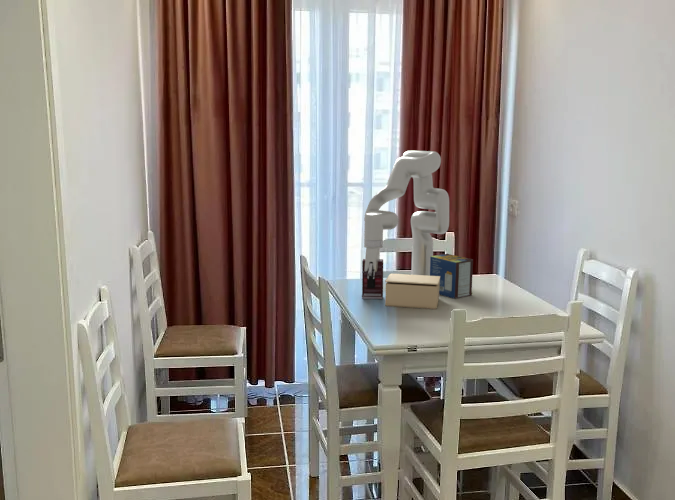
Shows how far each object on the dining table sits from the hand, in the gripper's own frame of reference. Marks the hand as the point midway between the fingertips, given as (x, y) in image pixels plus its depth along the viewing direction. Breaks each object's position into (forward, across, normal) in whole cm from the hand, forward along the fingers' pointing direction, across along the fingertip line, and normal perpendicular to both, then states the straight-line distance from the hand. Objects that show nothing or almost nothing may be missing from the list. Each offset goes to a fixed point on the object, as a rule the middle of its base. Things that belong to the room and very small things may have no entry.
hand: (372, 285), depth 280 cm
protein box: (+5, -15, +31) cm, 35 cm away
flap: (-5, +4, +17) cm, 18 cm away
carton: (+5, +4, +17) cm, 18 cm away
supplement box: (+5, 0, 0) cm, 5 cm away
